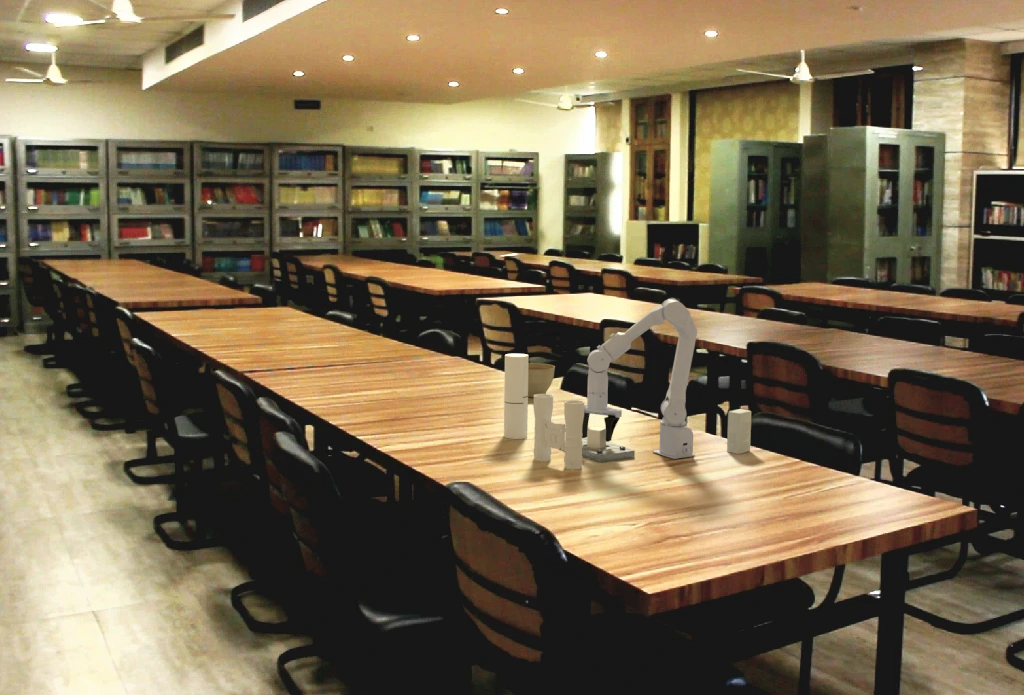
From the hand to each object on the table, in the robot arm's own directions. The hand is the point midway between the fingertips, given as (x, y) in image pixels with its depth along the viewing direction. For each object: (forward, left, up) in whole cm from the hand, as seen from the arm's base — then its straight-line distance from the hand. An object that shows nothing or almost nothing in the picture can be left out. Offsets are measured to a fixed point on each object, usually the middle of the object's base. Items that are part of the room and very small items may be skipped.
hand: (596, 439), depth 305 cm
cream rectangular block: (0, 0, -4) cm, 4 cm away
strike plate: (0, 0, -4) cm, 4 cm away
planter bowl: (+84, -33, -4) cm, 90 cm away
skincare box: (-19, -37, -4) cm, 42 cm away
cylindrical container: (+29, +9, -4) cm, 31 cm away
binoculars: (-5, +17, -4) cm, 18 cm away
